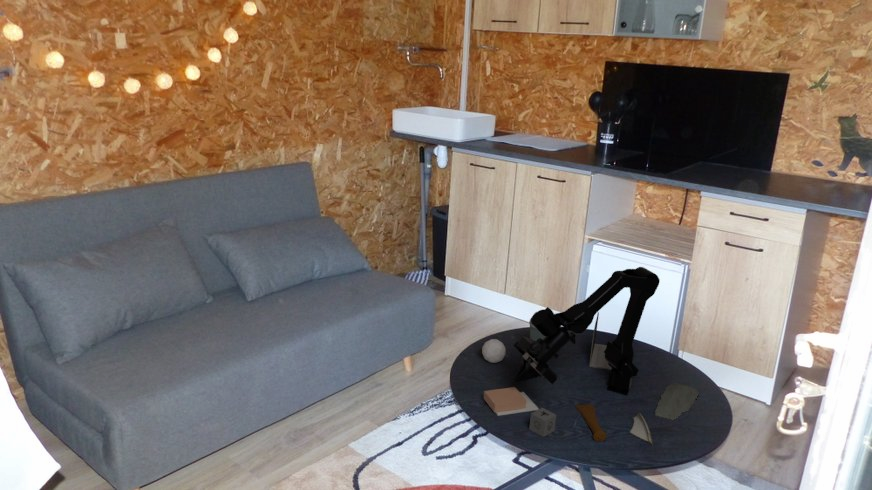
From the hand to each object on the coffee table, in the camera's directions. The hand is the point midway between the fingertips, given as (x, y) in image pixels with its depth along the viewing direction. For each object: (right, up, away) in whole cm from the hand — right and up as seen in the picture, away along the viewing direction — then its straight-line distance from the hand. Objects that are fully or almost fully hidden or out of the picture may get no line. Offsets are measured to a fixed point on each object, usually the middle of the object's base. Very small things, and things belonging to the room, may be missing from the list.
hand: (514, 382), depth 205 cm
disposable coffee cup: (+13, +2, +31) cm, 34 cm away
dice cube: (+6, -11, -10) cm, 17 cm away
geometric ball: (-4, +1, +28) cm, 28 cm away
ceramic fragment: (+35, -13, -8) cm, 38 cm away
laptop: (+36, +1, +34) cm, 50 cm away
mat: (-1, -7, +2) cm, 7 cm away
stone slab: (+50, -8, +7) cm, 51 cm away
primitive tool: (+21, -11, -5) cm, 24 cm away
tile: (+2, -5, +2) cm, 6 cm away
